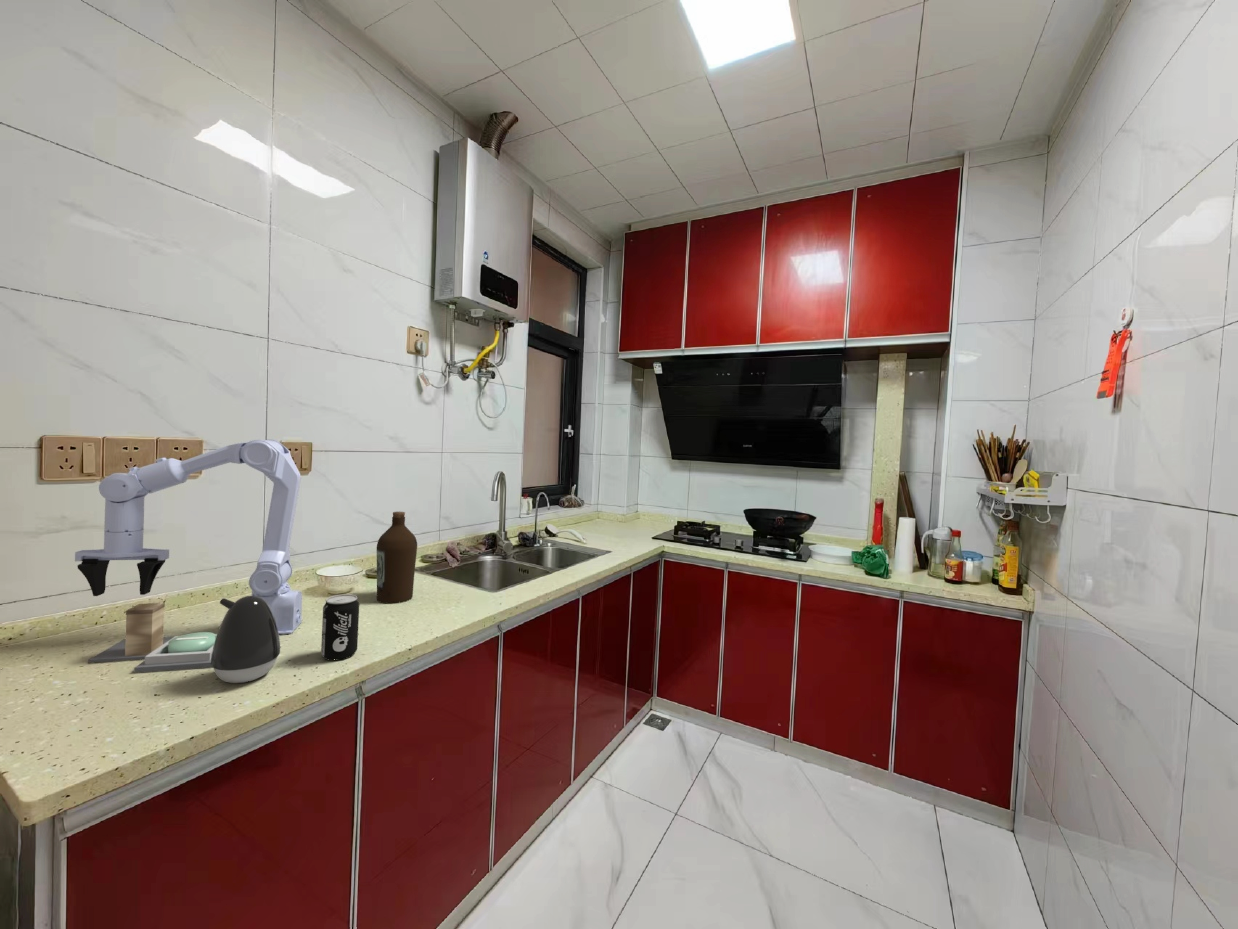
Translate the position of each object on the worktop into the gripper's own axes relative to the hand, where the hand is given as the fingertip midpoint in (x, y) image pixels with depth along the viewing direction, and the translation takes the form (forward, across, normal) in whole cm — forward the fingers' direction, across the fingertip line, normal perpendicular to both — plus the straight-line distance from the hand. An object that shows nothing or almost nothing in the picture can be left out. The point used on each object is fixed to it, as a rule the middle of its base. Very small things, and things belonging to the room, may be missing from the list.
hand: (122, 594), depth 100 cm
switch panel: (+10, -17, +11) cm, 23 cm away
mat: (+10, -6, +6) cm, 13 cm away
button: (+9, -17, +11) cm, 22 cm away
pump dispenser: (+10, -30, +22) cm, 39 cm away
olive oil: (+10, -50, -22) cm, 56 cm away
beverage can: (+10, -44, +15) cm, 48 cm away
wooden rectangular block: (+9, -8, +8) cm, 15 cm away
